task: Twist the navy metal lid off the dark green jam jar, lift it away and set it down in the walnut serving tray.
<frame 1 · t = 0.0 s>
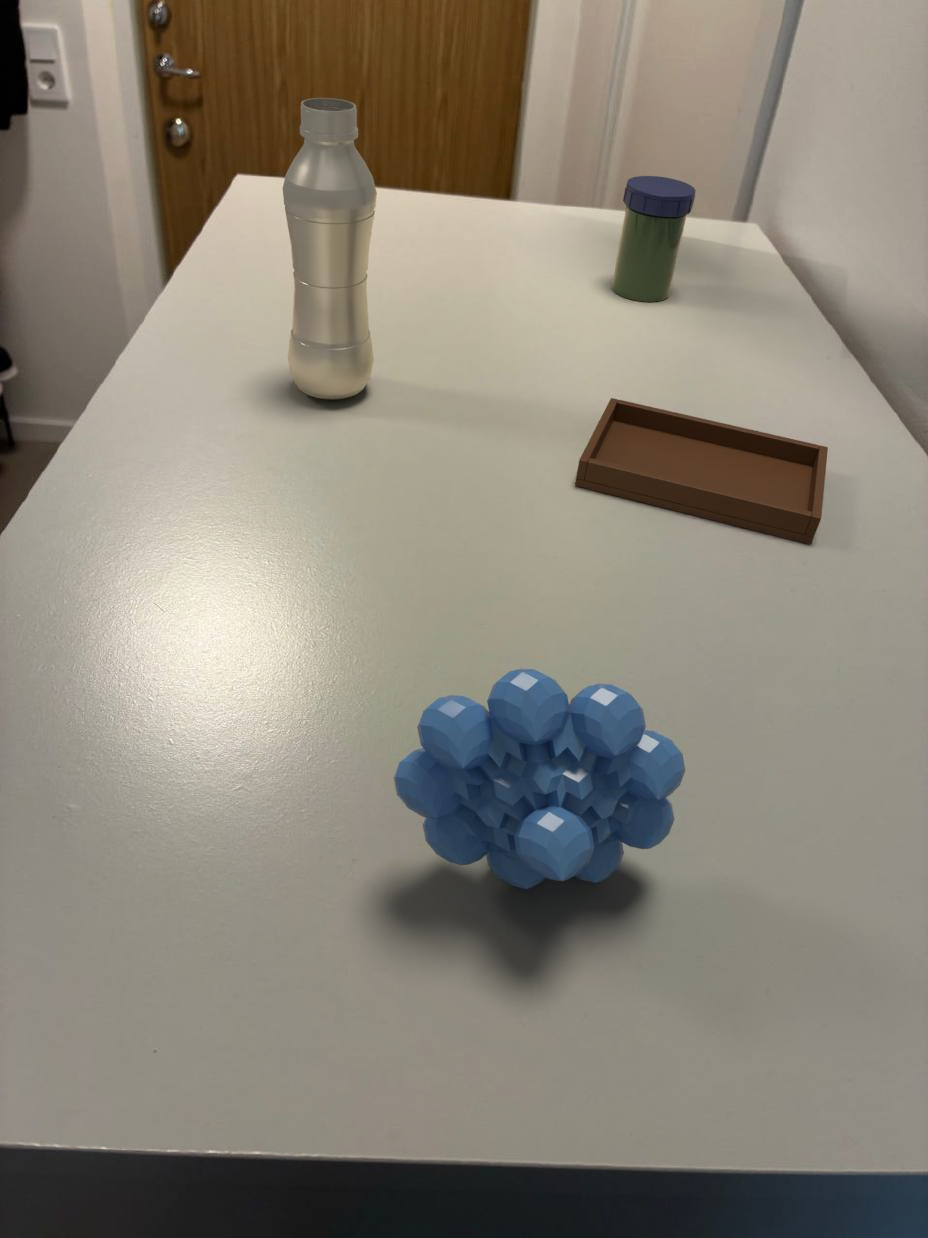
serving tray: (700, 478, 68), on the table
blue ball cluster: (526, 897, 41), on the table
jar lid: (660, 190, 89), point 10 cm above the table, screwed on, not yet turned
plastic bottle: (331, 391, 74), on the table
jam jar: (640, 290, 95), on the table
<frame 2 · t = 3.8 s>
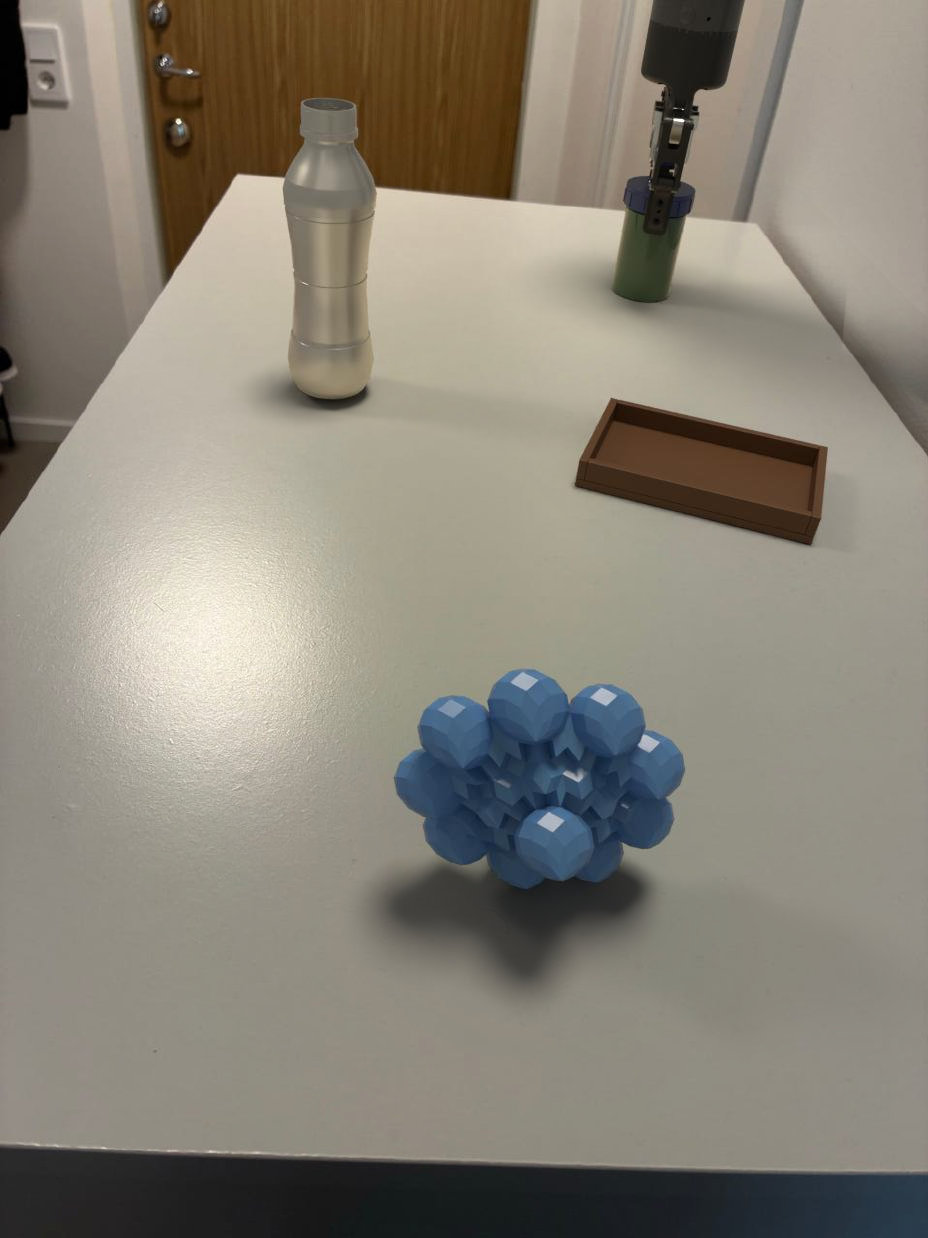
hand: (653, 221, 91), 7 cm above the table, tool pointing down, fingers closed on jar lid, 6 cm apart
jar lid: (660, 190, 89), point 10 cm above the table, screwed on, not yet turned, touching gripper
everything else where it was.
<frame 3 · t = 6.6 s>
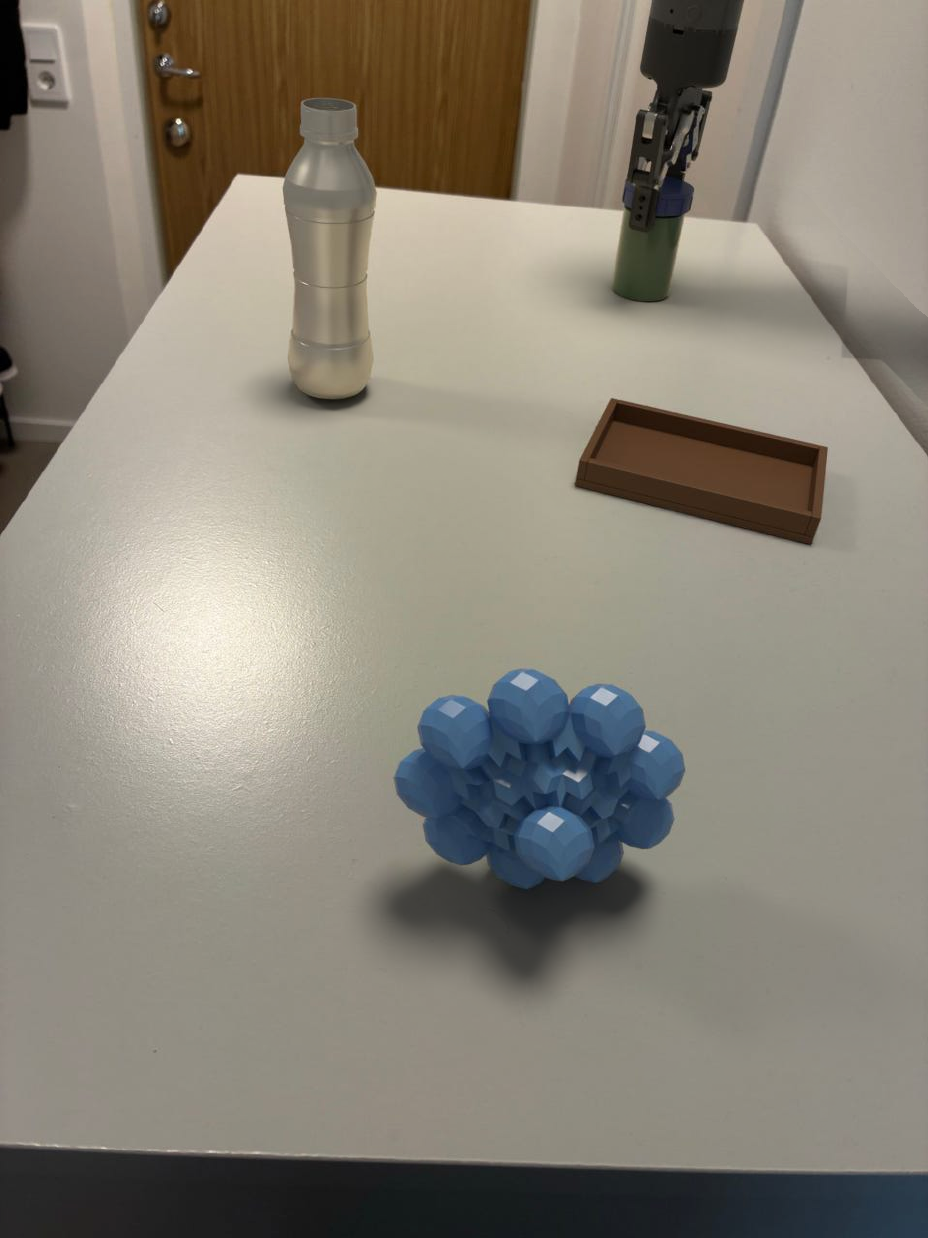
hand: (652, 220, 91), 7 cm above the table, tool pointing down, fingers closed on jar lid, 6 cm apart
jar lid: (659, 188, 89), point 10 cm above the table, off its thread, touching gripper
everything else where it was.
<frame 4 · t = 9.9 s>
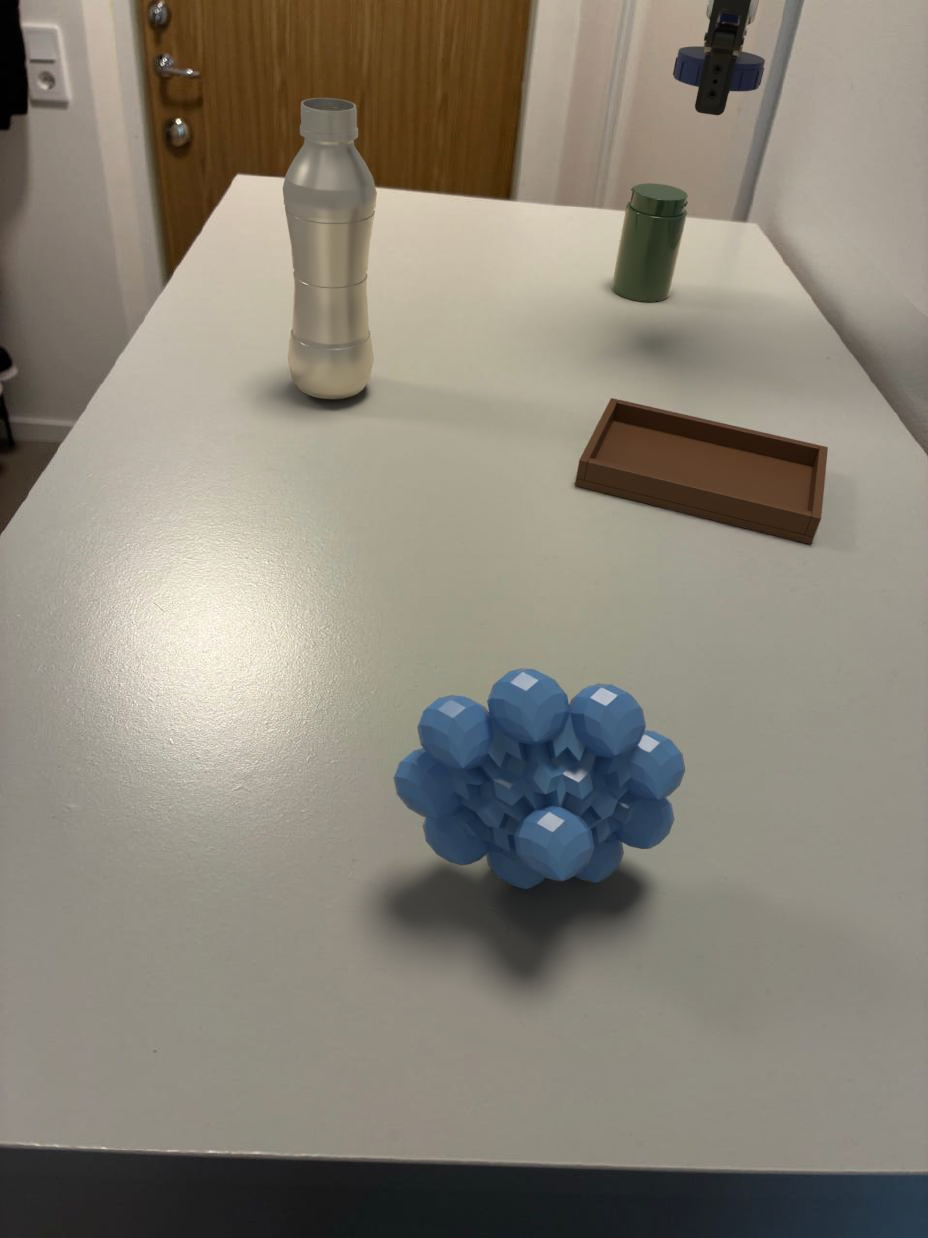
hand: (711, 102, 73), 20 cm above the table, tool pointing down, fingers closed on jar lid, 6 cm apart
jar lid: (720, 60, 71), point 22 cm above the table, off its thread, touching gripper
everything else where it was.
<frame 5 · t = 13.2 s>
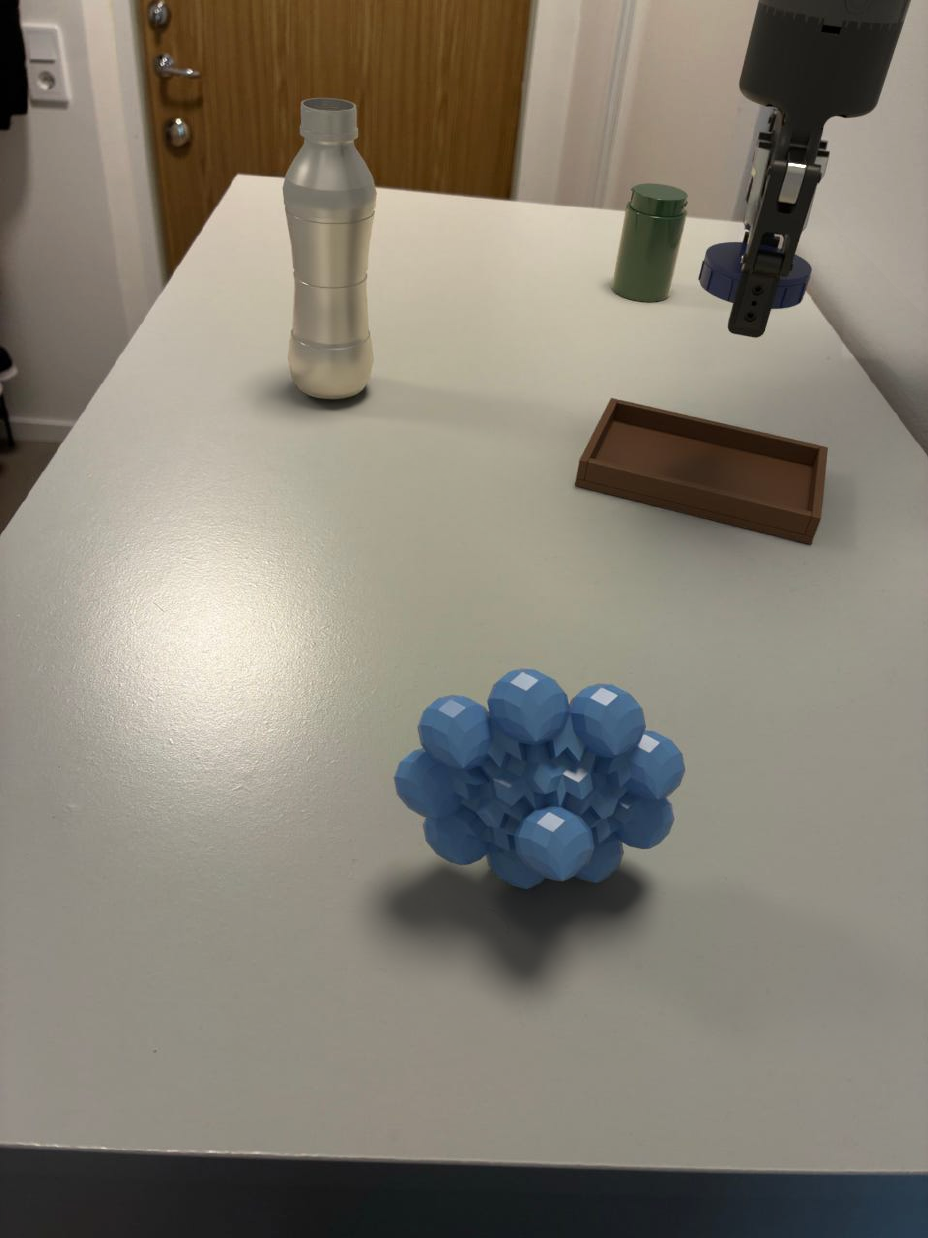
hand: (745, 311, 60), 12 cm above the table, tool pointing down, fingers closed on jar lid, 6 cm apart
jar lid: (756, 266, 58), point 15 cm above the table, off its thread, touching gripper
everything else where it was.
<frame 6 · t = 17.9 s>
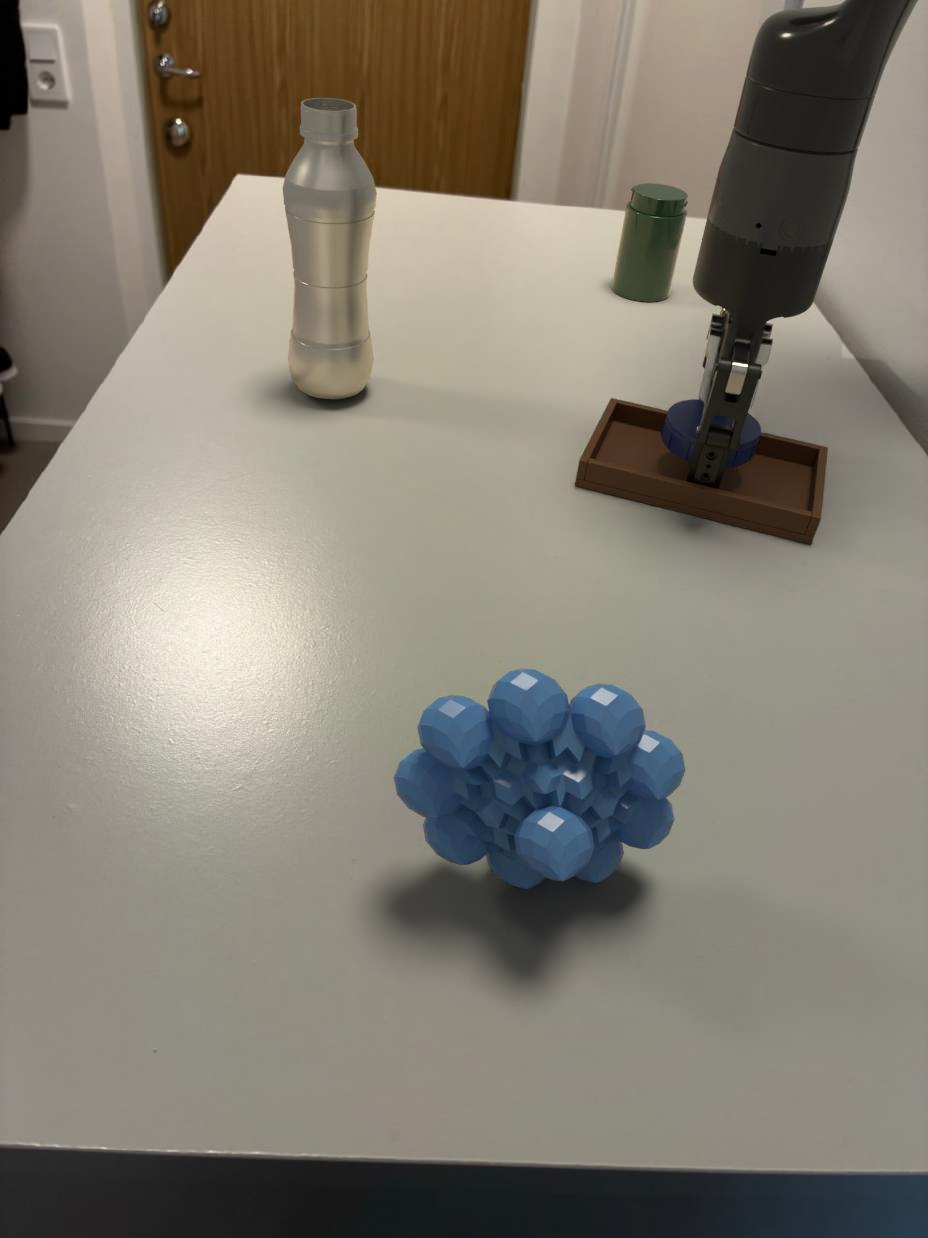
hand: (704, 462, 67), 1 cm above the table, tool pointing down, fingers closed on jar lid, 6 cm apart
jar lid: (712, 426, 65), point 4 cm above the table, off its thread, touching gripper
everything else where it was.
when the fingers open (2 cm above the table, at t = 22.6 s): jar lid drops 3 cm, resting on serving tray.
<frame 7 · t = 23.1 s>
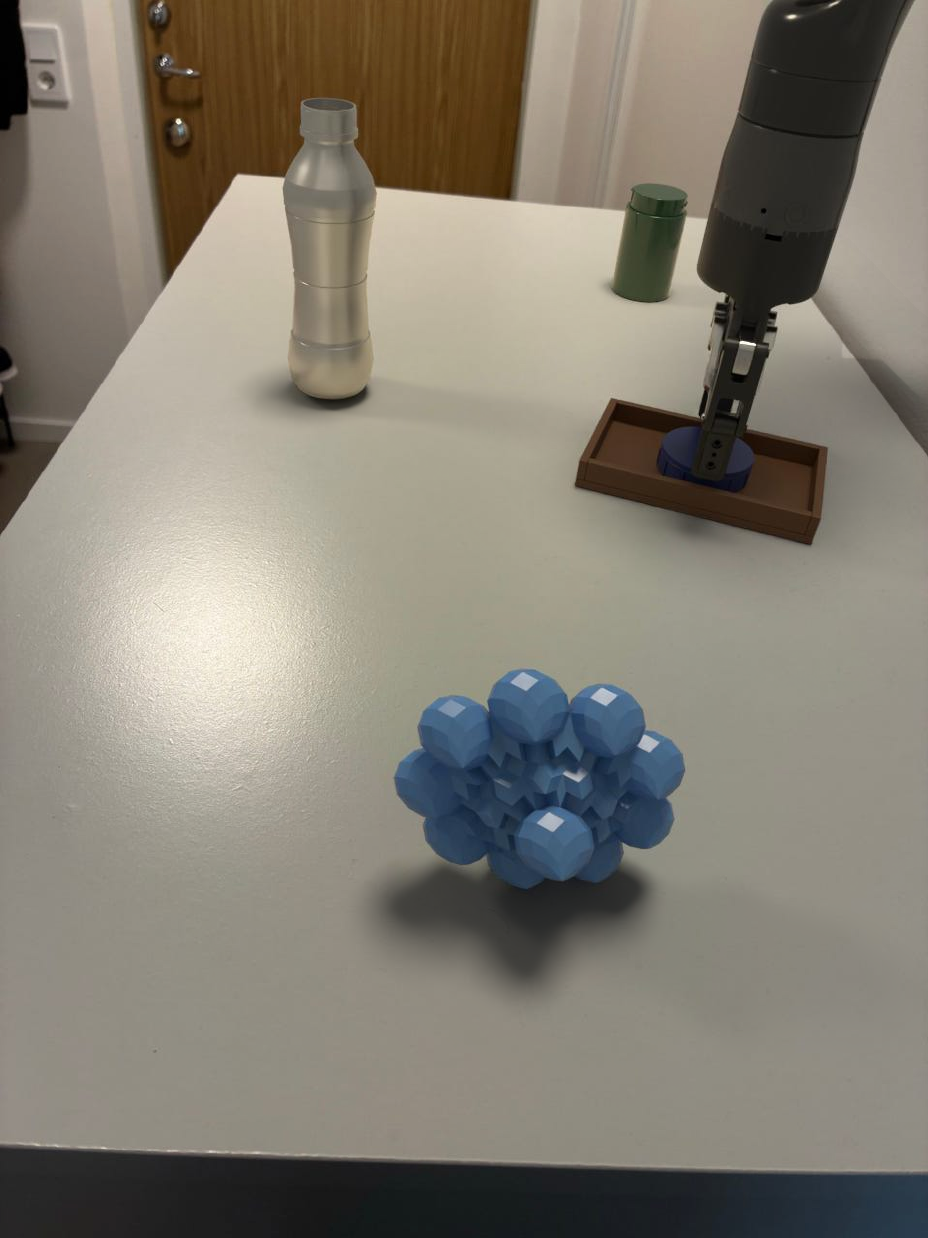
hand: (709, 446, 66), 3 cm above the table, tool pointing down, fingers open, 8 cm apart
jar lid: (706, 453, 67), point 2 cm above the table, off its thread, touching serving tray
everything else where it was.
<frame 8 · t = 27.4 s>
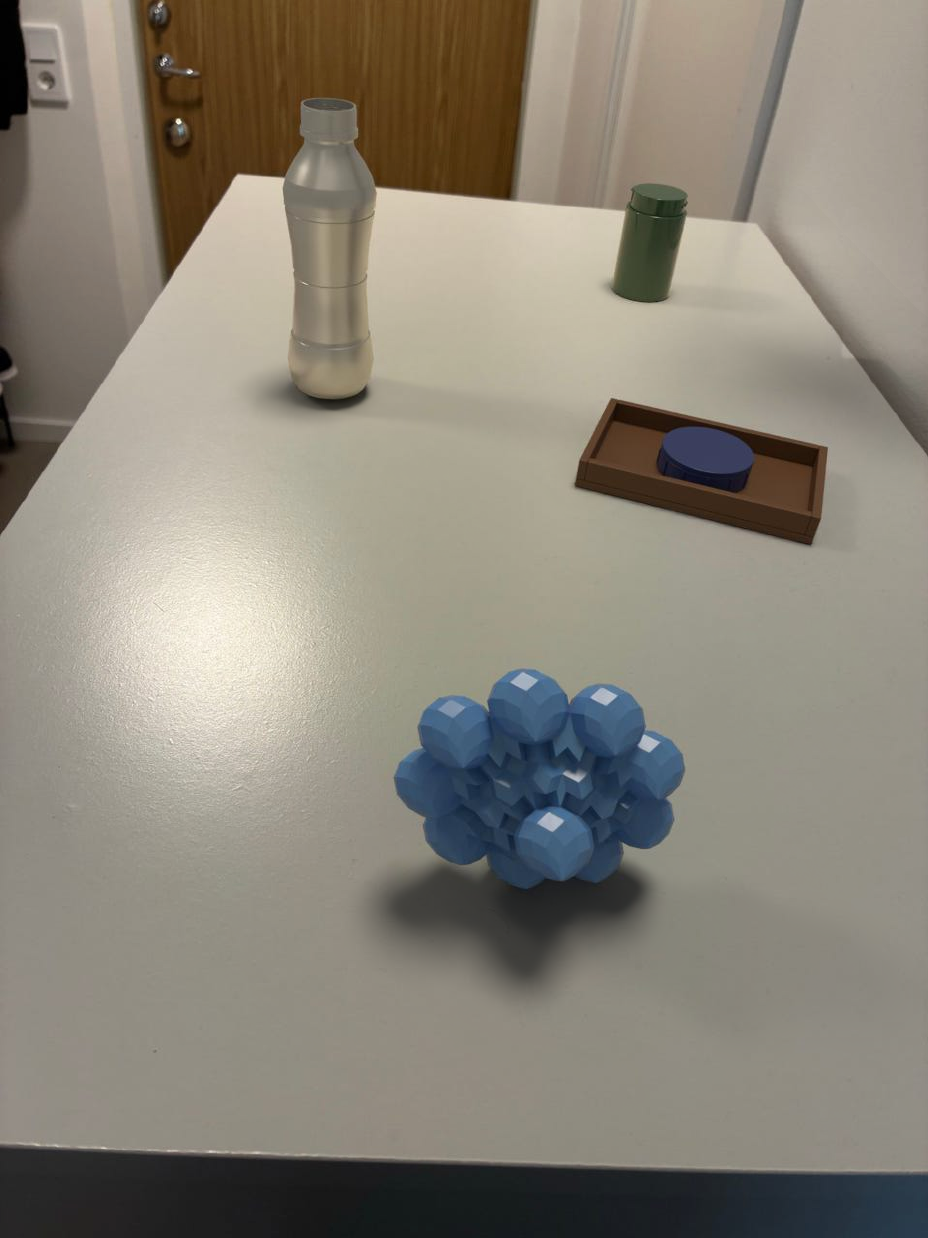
nothing on the table moved.
at the end: jar lid inside the target area on the serving tray (0.0 cm from its centre), point 2.0 cm above the serving tray's base; the gripper is holding nothing; jam jar moved 0.0 cm from its start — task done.
